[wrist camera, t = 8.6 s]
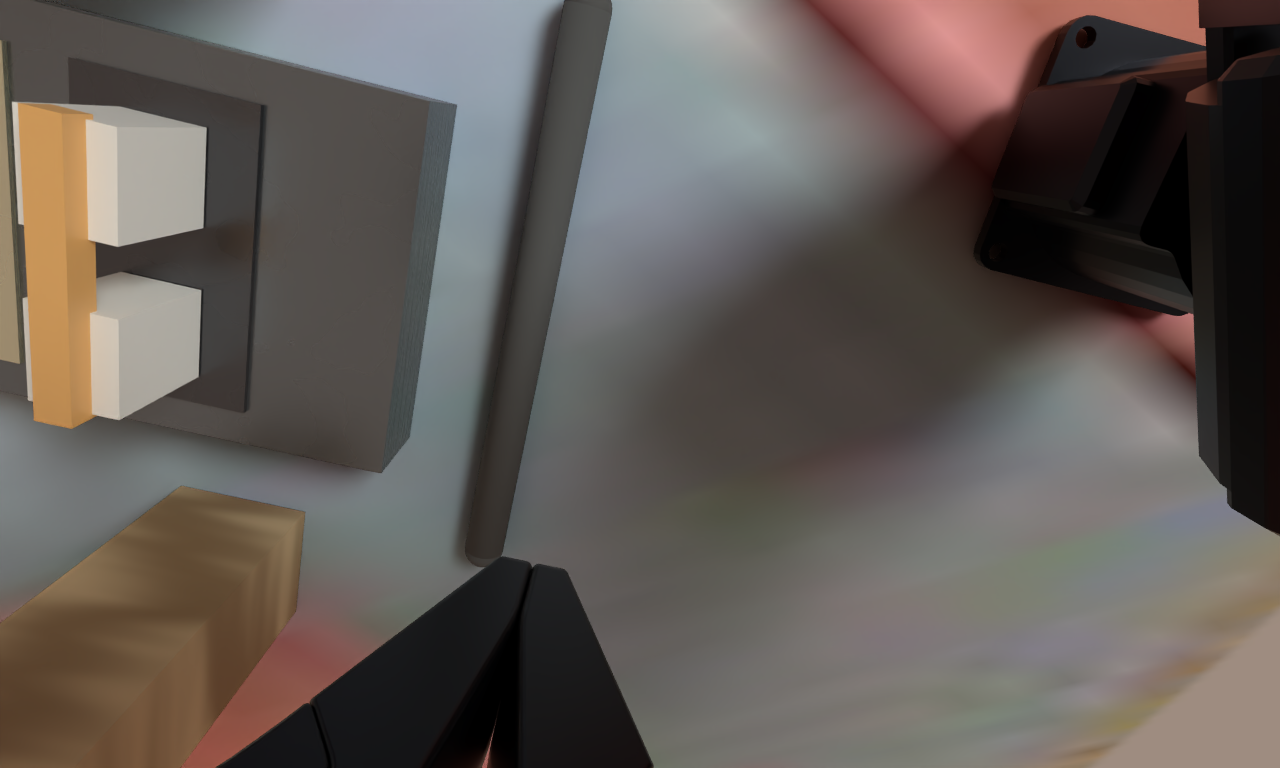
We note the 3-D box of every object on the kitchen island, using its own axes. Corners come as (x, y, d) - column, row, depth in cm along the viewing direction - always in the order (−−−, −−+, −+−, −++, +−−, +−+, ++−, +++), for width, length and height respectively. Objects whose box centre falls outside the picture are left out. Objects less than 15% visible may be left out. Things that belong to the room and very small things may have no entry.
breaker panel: (457, 104, 19) (427, 100, 17) (409, 437, 22) (379, 476, 20) (-6, -12, 18) (-110, -35, 16) (15, 350, 22) (-68, 379, 19)
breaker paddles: (206, 123, 17) (94, 121, 13) (198, 380, 19) (100, 434, 16) (119, 101, 17) (-16, 94, 13) (121, 363, 19) (5, 414, 15)
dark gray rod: (617, -8, 18) (616, -17, 17) (502, 556, 24) (495, 578, 23) (571, -20, 18) (566, -30, 17) (467, 549, 24) (458, 570, 23)
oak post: (305, 511, 23) (30, 815, 13) (296, 610, 25) (39, 958, 14) (181, 485, 23) (-200, 775, 13) (178, 587, 24) (-170, 924, 14)
